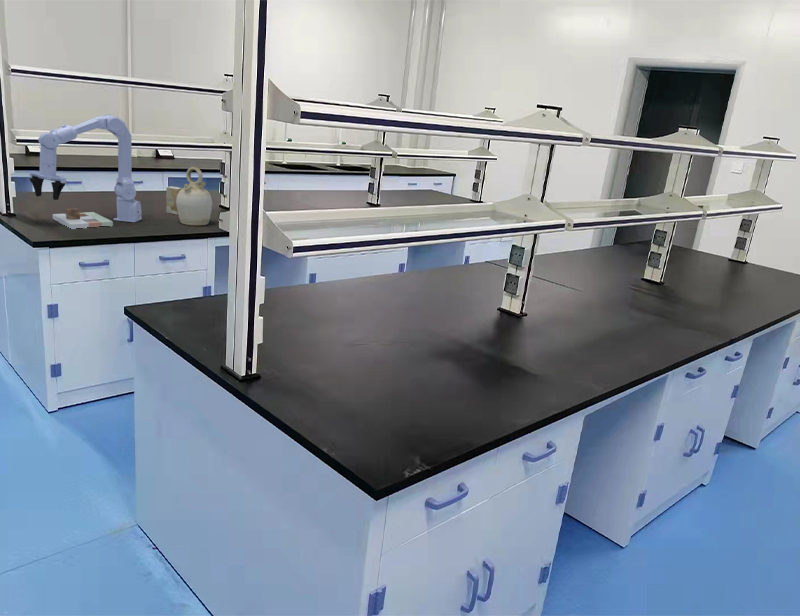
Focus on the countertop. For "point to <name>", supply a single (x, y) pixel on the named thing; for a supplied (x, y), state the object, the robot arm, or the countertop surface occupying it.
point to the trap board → (83, 220)
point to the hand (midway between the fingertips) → (47, 197)
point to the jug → (194, 201)
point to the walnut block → (72, 213)
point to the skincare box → (172, 199)
